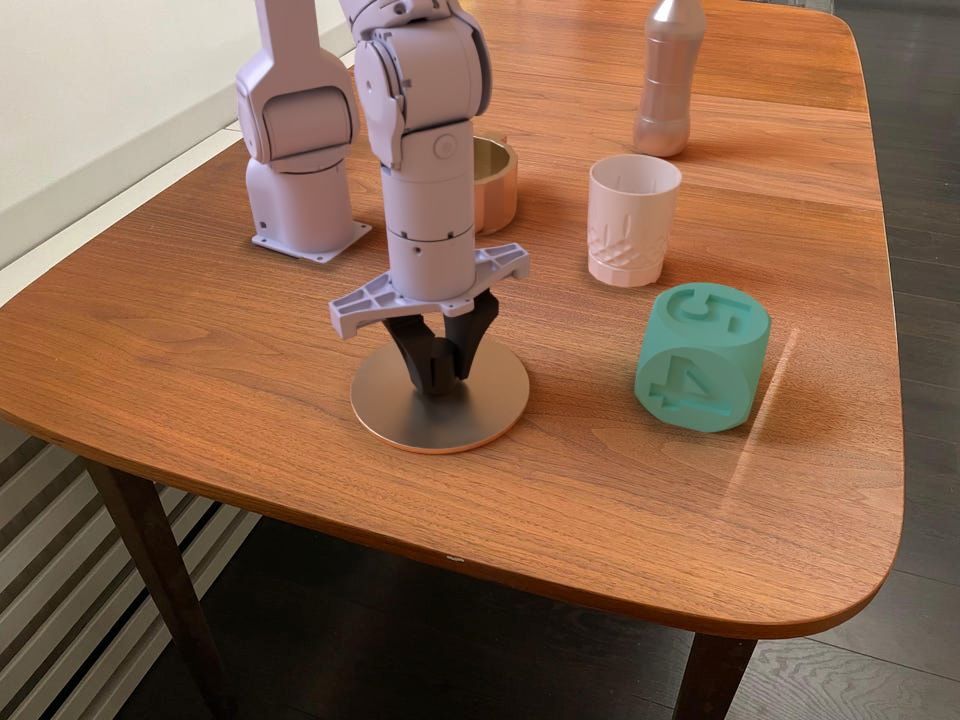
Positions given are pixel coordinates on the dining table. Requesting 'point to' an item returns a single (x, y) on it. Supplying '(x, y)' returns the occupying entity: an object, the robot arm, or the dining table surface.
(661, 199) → the white cup
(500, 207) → the pot
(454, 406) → the lid
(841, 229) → the dining table surface
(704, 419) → the decorative dice
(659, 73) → the plastic bottle
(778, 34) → the dining table surface
